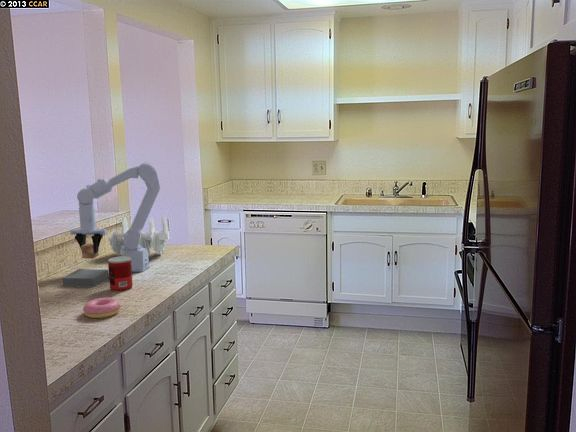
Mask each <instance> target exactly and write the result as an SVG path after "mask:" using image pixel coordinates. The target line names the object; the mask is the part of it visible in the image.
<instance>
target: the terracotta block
mask: <svg viewBox="0 0 576 432" xmlns="http://www.w3.org/2000/svg"><path fill="white" fill-rule="evenodd" d="M81 248H82V251H81V258H82V259H91V260H92V259H95V258H97V257H98V256H99V251H98V252H97V253H94V246H93V243H87V242H86V244H85V245H83V246H81ZM81 248H80V249H81Z"/></svg>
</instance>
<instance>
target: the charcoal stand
mask: <svg viewBox="0 0 576 432" xmlns="http://www.w3.org/2000/svg"><path fill="white" fill-rule="evenodd" d="M61 279H62V281H61V283H62V287H88V288H89V287H90V288H91V287H92V288H93V287H95V286H98V285H99V284H101V283H102V282H104V281H105V280H106V279H109V269H92V268H91V269H88V268H87V269H84V268H82V269H81V268H78V269H76V270H75V271H73V272H71V273H69V274H67V275H66V276H63V277H62V278H61Z"/></svg>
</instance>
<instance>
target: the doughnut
mask: <svg viewBox="0 0 576 432" xmlns="http://www.w3.org/2000/svg"><path fill="white" fill-rule="evenodd" d="M82 309H83V314H84V315H85V316H86V317H88V318H91V319H105V318H110V317H112V316H114V315H116V314H117V313H118V312H120V309H121V303H120V302H119V300H118V299H116V298H114V297H113V298H112V297H100V298H99V297H97V298H95V299H92V300H89V301H88V302H86V303H85V304H84V305H83V308H82Z"/></svg>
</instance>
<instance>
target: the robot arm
mask: <svg viewBox="0 0 576 432" xmlns="http://www.w3.org/2000/svg"><path fill="white" fill-rule="evenodd" d="M139 177H140V179H141V180H142V181H143V182H144V184H145V186H146V188H147V189H146V191H145V193H144V196H143V198H142V200H141V203H140V205H139V207H138V209H137V211H136V214H135V216H134V219H133V221H132V222H131V225H130V226H129V230H128V231H127V232H126V233H125V235H124V239H123V244H124V247H123V253H122V255H123V256H127V257H130V258H131V266H132V273H133V272H141V273H143V272H144V271H146V270H147V269H148V268H150V267H151V266H150V262H149V261H150V260H149V254H148V250H147V249H146V248H141V245H140V244H139V243H140V240H139V239H140V235H141V232H143V229H144V226H145V225H146V222H147V220H148V217H149V216H150V213H151V211H152V208H153V206H154V204H155V201H156V198H157V196H158V194H159V192H160V190H161V187H160V181H159V177H158V173H157V170H156V169H155V167H154V165H153V164H151V163H150V162H143V163H141V164H140V165H139V164H137V165H135V166H132V167H129V168H128V169H126V170H124V171H122V172H120V173H119V174H117V175H115V176H112V177H111V178H109V179H107V178H98V179H97V181H95V182H94V183H92V184H90V185H89V184H88V185H86V186H85V187H84V188H81V189H80V190H79V191H78V193H77V195H76V198H77V202H78V206H79V207H78V214H79V215H78V217H79V227H80V228H72V229H69V234H70V235H73V236H74V235H75V236H74V239H75V241H76V242H77V244H78V246H79V247H80V250H81V252H82V248H81V246H83V245H85V244H87V235H90V236H91V240H92V244H93V246H94V253H97V252H98V253H99V250H100V249H99V247H100V243H101V241H102V239H103V236H107V235H108V229H105V228H104V229H103V228H97V226H96V225H97V224H96V222H97V221H96V212H95V205H94V199H99V198H100V197H103V196H105V195H106V194H108V193H111V192H112V190H113V187H114V186H115V187H116V186H117V185H119V184H121V183H123V182H125V181H127V180H129V179H139Z"/></svg>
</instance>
